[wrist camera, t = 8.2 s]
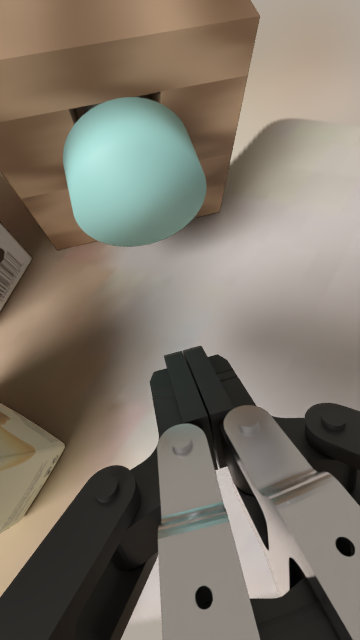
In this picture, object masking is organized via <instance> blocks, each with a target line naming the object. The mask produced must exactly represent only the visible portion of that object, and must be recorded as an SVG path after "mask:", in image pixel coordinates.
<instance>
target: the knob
mask: <svg viewBox="0 0 360 640" xmlns="http://www.w3.org/2000/svg"><path fill="white" fill-rule="evenodd" d="M85 110H86V113H85V114H84V115H83V116H82V117H81V118H80V119H79V120H78V121H77V122H76V123H75V124H74V126H73V127H72V129H71V130H70V132H69V134H68V136H67V139H66V142H65V145H64V150H63V165H64V170H65V175H66V180H67V185H68V190H69V195H70V200H71V205H72V209H73V214H74V217H75V220H76V222H77V223H78V225H79V227H80V228H81V229H82V230H83V231H84V232H85V233H86V234H88V235H89V236H90V237H92V238H94V239H95V240H98V241H100V242H102V243H105V244H109V245H114V246H123V247H132V246H142V245H147V244H151V243H155V242H158V241H160V240H163V239H165V238H167V237H169V236H171V235H173V234H175V233H176V232H178V231H179V230H181V229H182V228H184V227H185V226H186V225H187V224H188V223H189V222H190V221H191V220H192V219H193V218H194V217H195V216H196V214H197V213H198V211H199V210H200V208H201V206H202V204H203V202H204V199H205V195H206V186H207V185H206V178H205V175H204V172H203V169H202V167H201V164H200V162H199V159H198V157H197V154H196V152H195V149H194V147H193V145H192V142H191V140H190V137H189V135H188V132H187V130H186V128H185V126H184V124H183V122H182V121H181V120H180V118H179V117H178V116H177V115H176V114H175V113H174V112H173V111H172V110H170V109H169V108H167V107H166V106H164V105H162V104H160V103H158V102H156V101H153V100H150V99H145V98H139V97H138V96H136V97H125V98H117V99H113V100H109V101H106V102H104V103H99V104H93V105H88V106H85Z"/></svg>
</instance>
